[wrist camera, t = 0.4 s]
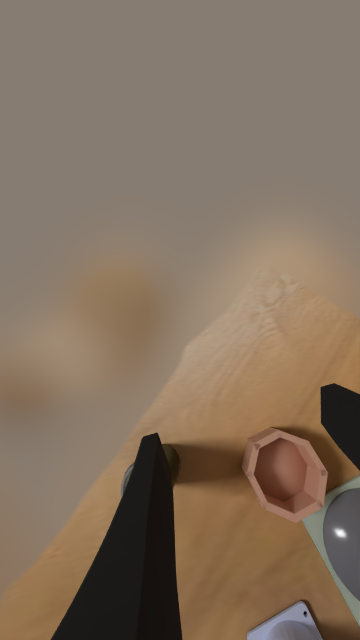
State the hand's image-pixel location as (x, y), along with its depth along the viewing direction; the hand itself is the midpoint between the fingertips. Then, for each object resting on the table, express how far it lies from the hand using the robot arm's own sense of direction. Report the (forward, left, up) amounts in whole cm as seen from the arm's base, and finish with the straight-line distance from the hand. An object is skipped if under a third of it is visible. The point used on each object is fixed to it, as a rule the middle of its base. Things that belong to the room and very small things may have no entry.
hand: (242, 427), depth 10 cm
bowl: (-10, -5, -29) cm, 31 cm away
